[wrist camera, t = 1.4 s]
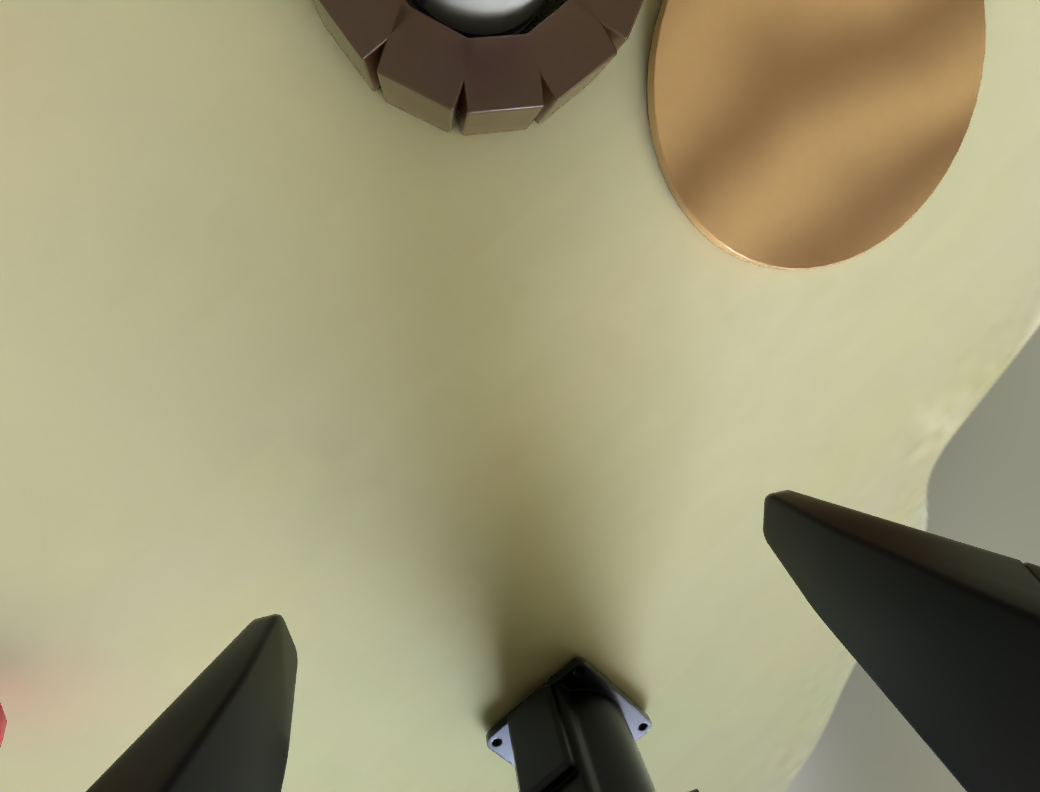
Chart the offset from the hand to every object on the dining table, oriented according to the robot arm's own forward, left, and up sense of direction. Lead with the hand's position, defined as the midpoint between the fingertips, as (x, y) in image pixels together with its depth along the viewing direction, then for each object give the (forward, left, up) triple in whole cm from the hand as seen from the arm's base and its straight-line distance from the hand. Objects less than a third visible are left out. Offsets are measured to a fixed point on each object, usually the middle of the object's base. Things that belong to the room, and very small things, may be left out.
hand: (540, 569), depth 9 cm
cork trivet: (0, -18, -12) cm, 22 cm away
